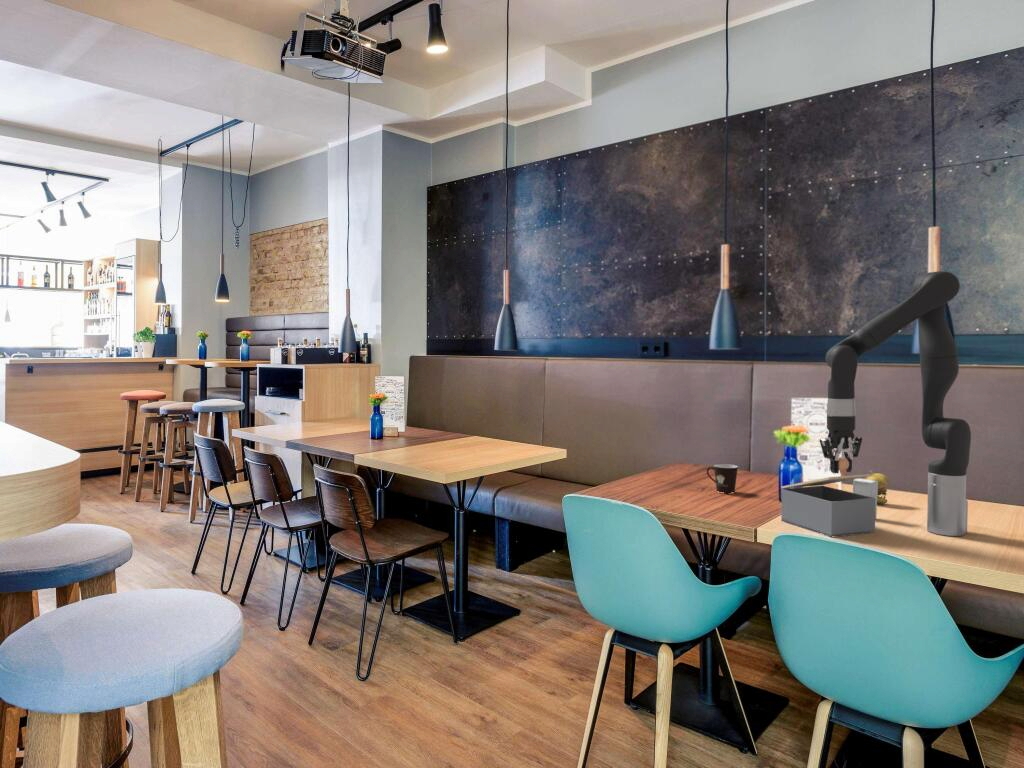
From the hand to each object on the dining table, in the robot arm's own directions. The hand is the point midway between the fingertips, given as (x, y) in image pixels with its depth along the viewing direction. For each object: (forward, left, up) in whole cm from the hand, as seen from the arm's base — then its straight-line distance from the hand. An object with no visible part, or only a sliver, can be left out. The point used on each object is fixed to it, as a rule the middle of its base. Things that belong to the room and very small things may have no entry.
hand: (841, 472), depth 193 cm
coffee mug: (-3, -59, -18) cm, 62 cm away
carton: (0, -5, -17) cm, 18 cm away
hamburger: (-39, -23, -18) cm, 49 cm away
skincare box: (-19, -9, -18) cm, 27 cm away
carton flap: (0, -6, -4) cm, 7 cm away
